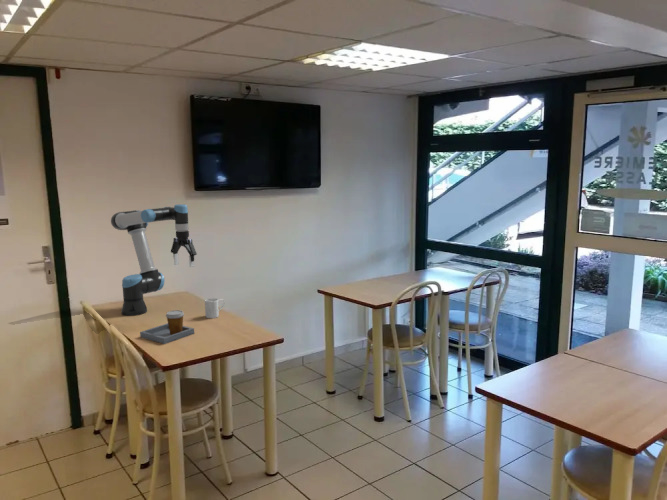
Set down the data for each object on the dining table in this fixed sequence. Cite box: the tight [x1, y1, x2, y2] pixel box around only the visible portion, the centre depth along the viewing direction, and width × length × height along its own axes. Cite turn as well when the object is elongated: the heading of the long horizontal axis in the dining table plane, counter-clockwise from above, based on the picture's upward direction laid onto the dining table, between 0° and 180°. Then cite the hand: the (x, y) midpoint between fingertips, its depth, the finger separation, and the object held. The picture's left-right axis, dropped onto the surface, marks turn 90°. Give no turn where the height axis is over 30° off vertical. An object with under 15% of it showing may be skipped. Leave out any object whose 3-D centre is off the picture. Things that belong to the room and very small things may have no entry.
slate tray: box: [139, 322, 195, 345], centre depth 289 cm, size 20×20×3 cm
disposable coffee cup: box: [165, 309, 185, 335], centre depth 289 cm, size 10×10×12 cm
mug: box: [204, 297, 225, 319], centre depth 324 cm, size 12×8×10 cm, turn 125°
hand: (184, 265), depth 319 cm, fingers open, 13 cm apart
